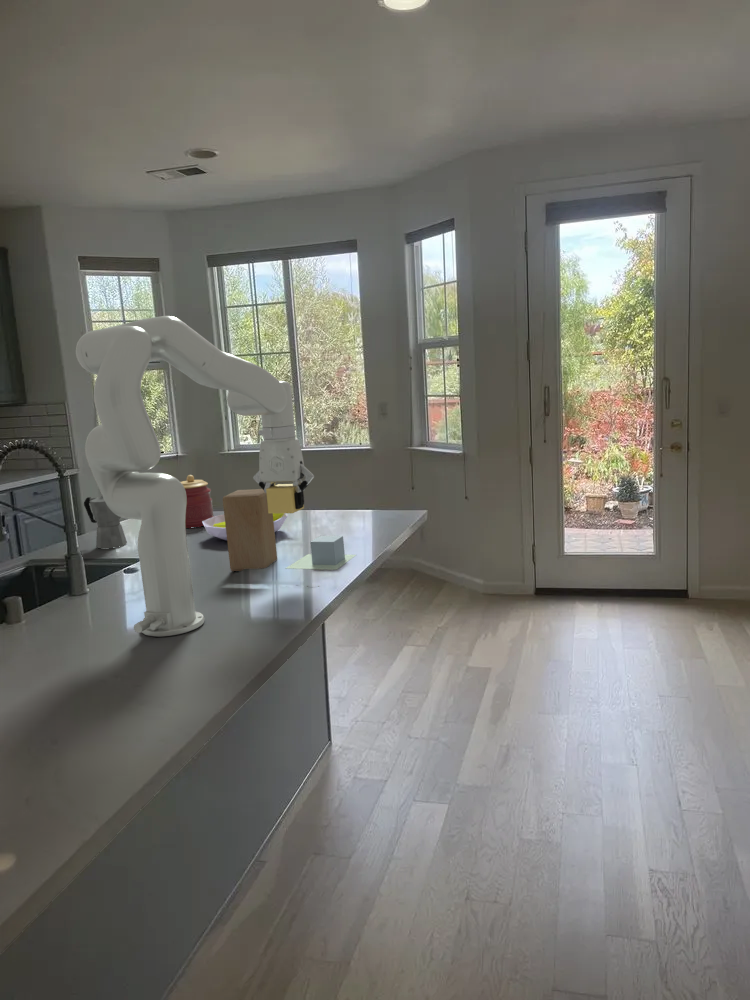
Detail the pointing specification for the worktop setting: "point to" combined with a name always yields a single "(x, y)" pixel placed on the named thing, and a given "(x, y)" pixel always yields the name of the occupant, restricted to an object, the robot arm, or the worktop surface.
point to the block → (249, 530)
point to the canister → (197, 502)
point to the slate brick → (327, 550)
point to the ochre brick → (281, 499)
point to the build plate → (307, 564)
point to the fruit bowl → (218, 527)
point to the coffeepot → (105, 523)
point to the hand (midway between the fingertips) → (286, 507)
